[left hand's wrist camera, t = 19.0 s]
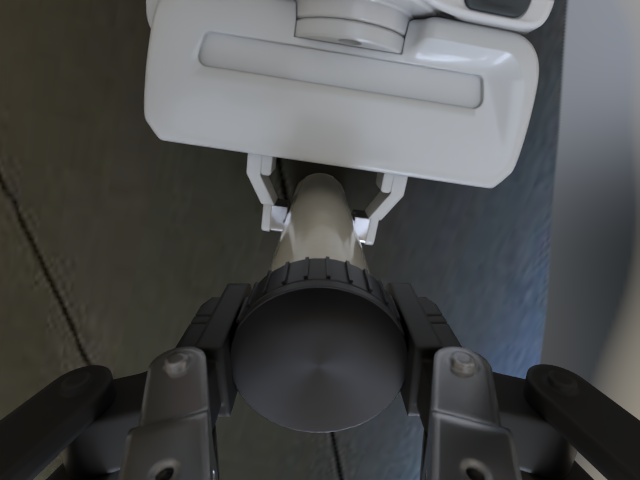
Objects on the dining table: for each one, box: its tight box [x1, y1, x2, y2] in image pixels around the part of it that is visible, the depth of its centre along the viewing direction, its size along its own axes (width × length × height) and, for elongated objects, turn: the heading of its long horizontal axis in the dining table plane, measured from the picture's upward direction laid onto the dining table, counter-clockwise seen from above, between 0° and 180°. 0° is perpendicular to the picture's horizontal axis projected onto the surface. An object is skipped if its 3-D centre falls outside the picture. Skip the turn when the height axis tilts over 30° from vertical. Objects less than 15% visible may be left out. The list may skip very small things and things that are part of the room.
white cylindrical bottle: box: [269, 173, 371, 275], centre depth 19 cm, size 4×4×19 cm
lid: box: [230, 256, 408, 432], centre depth 10 cm, size 5×5×2 cm
